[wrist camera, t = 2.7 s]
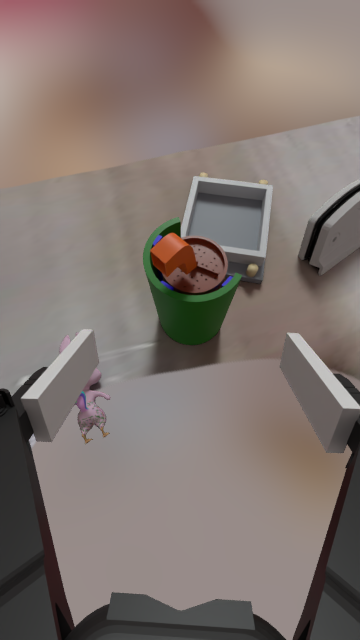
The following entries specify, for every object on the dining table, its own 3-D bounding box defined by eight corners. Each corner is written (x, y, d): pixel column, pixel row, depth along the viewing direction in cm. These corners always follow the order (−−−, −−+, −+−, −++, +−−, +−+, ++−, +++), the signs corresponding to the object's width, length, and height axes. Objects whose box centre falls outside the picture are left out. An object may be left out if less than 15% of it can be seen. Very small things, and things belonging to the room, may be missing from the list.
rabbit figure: (123, 427, 34) (96, 328, 37) (112, 440, 29) (81, 322, 31) (80, 442, 34) (56, 341, 37) (60, 458, 28) (33, 336, 31)
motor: (231, 312, 38) (272, 221, 19) (199, 358, 36) (212, 305, 17) (179, 280, 41) (171, 171, 22) (146, 321, 38) (106, 239, 19)
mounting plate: (172, 269, 41) (170, 256, 38) (193, 183, 48) (193, 165, 44) (260, 283, 40) (267, 272, 36) (270, 192, 46) (276, 175, 43)
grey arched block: (318, 277, 40) (335, 223, 32) (295, 263, 43) (305, 211, 35) (386, 227, 43) (417, 167, 35) (360, 218, 45) (383, 160, 38)
